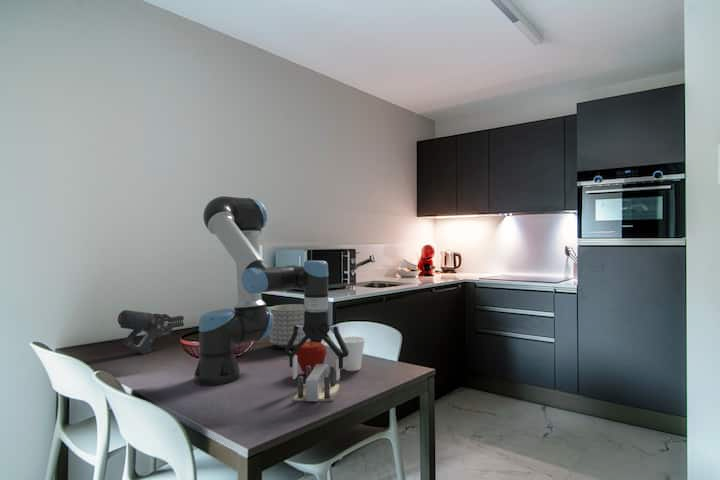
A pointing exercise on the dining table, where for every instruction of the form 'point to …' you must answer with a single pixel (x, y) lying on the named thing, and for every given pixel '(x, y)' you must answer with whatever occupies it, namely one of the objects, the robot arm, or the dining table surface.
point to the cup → (353, 353)
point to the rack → (329, 387)
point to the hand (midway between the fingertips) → (316, 378)
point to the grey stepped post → (316, 382)
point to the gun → (147, 328)
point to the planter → (287, 324)
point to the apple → (311, 355)
